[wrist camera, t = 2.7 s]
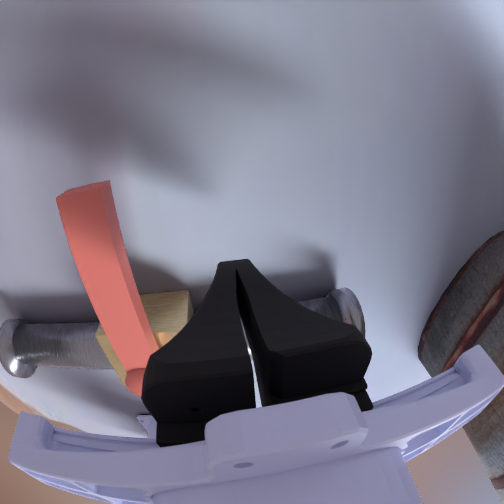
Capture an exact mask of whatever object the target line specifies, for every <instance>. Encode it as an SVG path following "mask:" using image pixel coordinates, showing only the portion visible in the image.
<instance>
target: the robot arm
mask: <svg viewBox="0 0 504 504" xmlns="http://www.w3.org/2000/svg"><path fill="white" fill-rule="evenodd" d="M240 317H241V319H240ZM241 320H242V323H241ZM242 324H243V327H244V330H245V334H246V337H247V341H248V344H249V347H250V350H251V354H252V358H253V362H254V367H255V372H256V377H257V382H258V388H259V393H260V398H261V404H262V407H259V408H256V402H255V390H254V378H253V369H252V364H251V359H250V354H249V351H248V347H247V344H246V340H245V336H244V332H243V328H242ZM371 356H372V351H371V347H370V346H369V344H368V342H367V341H366V339H365V338H364V336H363V335H362V333H361V332H360V331H359V330H358V328H357V327H356V326H355V325H351V324H348V323H344V322H341V321H337V320H334V319H331V318H328V317H326V316H323V315H321V314H318V313H316V312H314V311H312V310H310V309H308V308H306V307H304V306H302V305H300V304H298V303H297V302H295V301H293V300H292V299H290V298H289V297H287V296H286V295H284V294H283V293H282V292H281V291H279V290H278V289H277V288H276V287H275V286H273V285H272V284H271V283H270V282H269V281H268V280H267V279H266V278H265V277H264V276H263V275H262V274H261V273H260V272H259V271H258V270H257V269H256V267H255V266H254V265H253V264H252V263H251V261H250V260H248V259H242V260H233V261H225V262H220V263H219V264H218V267H217V271H216V274H215V277H214V280H213V282H212V284H211V287H210V289H209V291H208V293H207V294H206V296H205V298H204V300H203V302H202V303H201V305H200V307H199V308H198V310H197V311H196V312H195V314H194V315H193V316H192V318H191V319H190V320H189V321H188V323H187V324H186V325H185V326H184V327H183V328H182V330H181V331H179V332H178V333H177V334H176V335H175V336H174V337H173V338H172V339H171V340H170V341H169V342H168V343H166V344H165V345H164V346H162V347H161V348H160V349H158V350H157V351H156V352H154V353H153V354H151V355H150V357H149V359H148V362H147V365H146V369H145V372H144V376H143V383H142V394H141V399H142V401H143V403H144V405H145V407H146V408H147V409H148V411H149V412H150V414H151V415H137V420H138V421H139V422H140V424H141V425H142V426H143V427H144V428H145V430H146V431H147V432H148V437H147V438H132V437H118V436H108V435H99V434H91V433H84V432H78V431H72V430H66V429H61V428H56V427H54V426H53V425H52V424H51V423H50V422H49V421H48V420H47V419H45V418H44V417H42V416H39V415H36V414H32V413H28V412H24V411H21V412H20V415H19V418H18V422H17V425H16V429H15V432H14V436H13V440H12V444H11V448H10V453H9V457H8V460H9V462H10V463H12V464H13V465H15V466H16V467H18V468H19V469H21V470H22V471H24V472H26V473H27V474H29V475H31V476H33V477H34V478H36V479H37V480H39V481H41V482H43V483H45V484H47V485H49V486H52V487H55V488H58V489H61V490H64V491H68V492H71V493H74V494H77V495H81V496H84V497H88V498H91V499H95V500H99V501H103V502H108V503H112V504H423V502H422V499H421V497H420V495H419V492H418V490H417V488H416V485H415V483H414V481H413V479H412V476H411V474H410V472H409V470H408V467H407V465H406V463H405V462H407V461H408V460H410V459H412V458H414V457H416V456H417V455H419V454H421V453H422V452H424V451H426V450H427V449H429V448H431V447H432V446H434V445H435V444H437V443H438V442H440V441H441V440H443V439H444V438H446V437H448V436H449V435H451V434H452V433H453V432H455V431H456V430H458V429H459V428H460V427H462V426H463V425H465V424H466V423H468V422H469V421H470V420H472V419H473V418H474V417H476V416H477V415H478V414H479V413H480V412H481V411H482V410H483V409H484V408H485V407H486V406H487V405H488V404H489V403H490V402H491V401H492V400H493V398H494V397H495V396H496V395H497V394H498V393H499V392H500V390H501V389H502V388H503V387H504V375H503V374H502V373H501V371H500V370H499V369H498V367H497V366H496V365H495V363H494V362H493V361H492V360H491V358H490V357H489V356H488V355H487V353H486V352H485V351H484V350H483V348H482V347H481V346H480V345H476V346H474V347H473V348H471V349H469V350H467V351H466V352H464V353H463V354H462V355H461V356H460V357H459V358H458V360H457V361H456V363H455V365H454V367H452V368H450V369H449V370H447V371H445V372H443V373H441V374H439V375H437V376H435V377H433V378H431V379H429V380H426V381H424V382H422V383H420V384H418V385H416V386H413V387H411V388H409V389H406V390H404V391H402V392H399V393H397V394H394V395H392V396H389V397H387V398H384V399H381V400H379V401H376V402H373V403H372V402H371V400H370V398H369V396H368V394H367V392H366V390H365V389H367V383H366V381H365V379H364V375H365V373H366V370H367V368H368V366H369V363H370V361H371Z"/></svg>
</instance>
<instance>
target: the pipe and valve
mask: <svg viewBox="0 0 504 504" xmlns="http://www.w3.org/2000/svg"><path fill="white" fill-rule="evenodd" d="M139 296H140V299H141V302H142V305H143V307H144V310H145V313H146V316H147V319H148V321H149V324H150V327H151V329H152V332H153V335H154V337H155V340H156V342H157V345H158V347H159V349H160V348H161V347H162V346H164V345H165V344H166V343H168V342H169V341H170V340H171V339H172V338H173V337H174V336H175V335H176V334H177V333H178V332H179V331H181V330H182V328H183V327H184V326H185V325H186V324H187V323H188V321H189V320H190V319H191V318H192V316H193V315H194V311H193V307H192V303H191V298H190V293H189V290H180V291H171V292H161V293H151V294H140V295H139ZM297 303H298V304H300V305H302V306H304V307H306V308H308V309H310V310H312V311H314V312H316V313H318V314H321V315H323V316H326V317H328V318H331V319H334V320H337V321H341V322H344V323H348V324H351V325H355V326H356V327H357V328H358V330H359V331H360V332H361V333H362V335H363V336H364V338H365V322H364V316H363V312H362V309H361V306H360V304H359V301H358V299H357V298H356V296H355V294H354V293H353V292H352V291H351V290H350V289H348V288H340V289H335V290H330V291H329V292H328V293H327V295H326V297H322V298H316V299H310V300H304V301H298V302H297ZM240 319H241V317H240ZM241 323H242V320H241ZM242 328H243V332H244V336H245V340H246V344H247V347H248V351H249V354H250V359H251V360H252V359H253V358H252V354H251V350H250V347H249V344H248V341H247V337H246V334H245V330H244V327H243V324H242ZM0 361H1V364H2V365H3V367H4V368H5V370H6V371H7V372H8V373H9V374H11V375H12V376H15V377H20V378H28V377H30V376H32V375H33V374H34V372H35V371H36V368H37V366H47V367H60V368H76V369H114V370H115V371H116V373H117V374H118V376H119V378H120V379H121V381H122V382H123V384H124V385H125V378H126V370H125V368H124V367H123V365H122V363H121V361H120V360H119V358H118V356H117V354H116V352H115V351H114V349H113V347H112V345H111V343H110V341H109V339H108V337H107V335H106V333H105V331H104V329H103V327H102V325H101V323H100V322H95V323H65V324H28V323H27V322H26V321H24V320H22V319H9V320H6V321H5V322H4V323H3V324H2V325H1V327H0ZM125 387H126V385H125ZM126 388H127V387H126ZM127 390H129V389H128V388H127Z"/></svg>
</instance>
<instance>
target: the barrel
mask: <svg viewBox="0 0 504 504" xmlns="http://www.w3.org/2000/svg"><path fill="white" fill-rule="evenodd" d="M476 345H480V346H481V347H482V348H483V350H484V351H485V352H486V353H487V355H488V356H489V357H490V358H491V360H492V361H493V362H494V363H495V365H496V366H497V367H498V369H499V370H500V371H501V373H502V374H503V375H504V231H502V232H500V233H498V234H497V235H495V236H493V237H491V238H490V239H489V240H488V241H487V242H485V243H484V244H483V245H482V246H481V247H480V248H479V249H478V250H477V251H476V252H475V253H474V254H473V255H472V256H471V258H470V259H469V260H468V261H467V262H466V264H465V265H464V266H463V267H462V268H461V269H460V270H459V272H458V273H457V275H456V276H455V278H454V279H453V281H452V282H451V283H450V285H449V286H448V287H447V289H446V290H445V292H444V293H443V295H442V297H441V298H440V300H439V302H438V303H437V305H436V307H435V308H434V310H433V311H432V313H431V315H430V317H429V319H428V321H427V324H426V326H425V328H424V330H423V332H422V335H421V338H420V342H419V346H418V357H419V360H420V361H421V363H422V364H423V365H424V367H425V368H426V370H427V371H428V373H429V374H430V376H431V377H432V378H433V377H435V376H437V375H439V374H441V373H443V372H445V371H447V370H449V369H450V368H452V367H454V365H455V363H456V361H457V360H458V358H459V357H460V356H461V355H462V354H463V353H464V352H466V351H467V350H469V349H471V348H473V347H474V346H476ZM462 427H463V429H464V430H465V432H466V434H467V436H468V437H469V439H470V441H471V443H472V445H473V446H474V448H475V450H476V452H477V454H478V456H479V458H480V460H481V461H482V463H483V465H484V467H485V469H486V471H487V473H488V475H489V477H490V479H491V482H492V484H493V486H494V488H495V490H496V492H497V495H498V497H499V499H500V501H501V504H504V387H503V388H502V389H501V390H500V392H499V393H498V394H497V395H496V396H495V397H494V398H493V400H492V401H491V402H490V403H489V404H488V405H487V406H486V407H485V408H484V409H483V410H482V411H481V412H480V413H479V414H478V415H477V416H476V417H474V418H473V419H472V420H470V421H469V422H468V423H466V424H465V425H463V426H462Z"/></svg>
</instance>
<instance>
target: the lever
mask: <svg viewBox="0 0 504 504" xmlns="http://www.w3.org/2000/svg"><path fill="white" fill-rule="evenodd" d="M56 201H57V205H58V209H59V212H60V216H61V220H62V223H63V227H64V230H65V233H66V236H67V240H68V243H69V246H70V249H71V252H72V255H73V258H74V260H75V263H76V266H77V269H78V271H79V274H80V277H81V279H82V282H83V284H84V287H85V289H86V292H87V294H88V296H89V299H90V301H91V303H92V305H93V308H94V310H95V312H96V314H97V317H98V319H99V321H100V323H101V325H102V327H103V329H104V331H105V333H106V335H107V337H108V339H109V341H110V343H111V345H112V347H113V349H114V351H115V352H116V354H117V356H118V358H119V360H120V361H121V363H122V365H123V367H124V368H125V370H126V378H125V385H126V387H127V388H128V389H129V390H130V391H131V392H132V393H134V394H135V395H137V396H140V397H141V394H142V383H143V376H144V372H145V369H146V365H147V362H148V359H149V357H150V355H151V354H153V353H154V352H156V351H157V350H158V349H159V347H158V345H157V342H156V340H155V337H154V335H153V332H152V329H151V327H150V324H149V321H148V319H147V316H146V313H145V310H144V307H143V305H142V302H141V299H140V296H139V293H138V290H137V287H136V283H135V280H134V277H133V274H132V270H131V267H130V264H129V260H128V257H127V253H126V249H125V246H124V242H123V238H122V234H121V230H120V226H119V222H118V218H117V214H116V209H115V205H114V200H113V195H112V190H111V185H110V180H109V181H104V182H99V183H95V184H90V185H86V186H81V187H77V188H73V189H69V190H67V191H65V192H64V193H62V194H61V195H60V196H58V197H57V198H56Z"/></svg>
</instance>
